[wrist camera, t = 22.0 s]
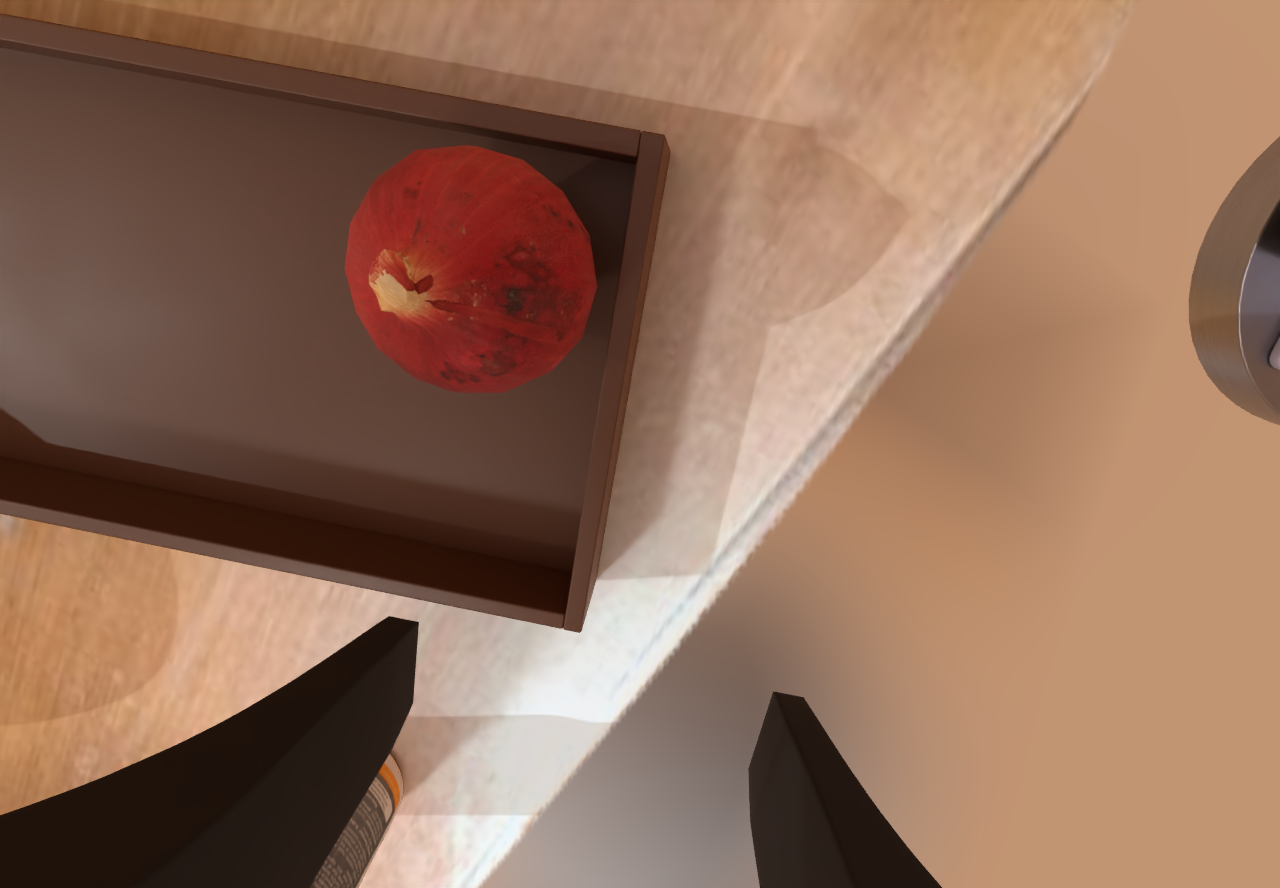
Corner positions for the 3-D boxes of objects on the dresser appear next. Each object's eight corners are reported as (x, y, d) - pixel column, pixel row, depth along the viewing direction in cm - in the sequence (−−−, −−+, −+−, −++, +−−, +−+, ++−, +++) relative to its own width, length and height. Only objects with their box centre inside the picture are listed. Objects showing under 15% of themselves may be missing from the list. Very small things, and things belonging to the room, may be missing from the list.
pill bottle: (284, 707, 26) (59, 970, 17) (413, 736, 26) (258, 1018, 17) (285, 801, 28) (83, 1083, 19) (405, 829, 28) (261, 1126, 19)
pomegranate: (637, 198, 18) (591, 178, 10) (585, 383, 20) (515, 481, 12) (444, 135, 18) (254, 69, 10) (412, 327, 20) (233, 391, 12)
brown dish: (671, 149, 18) (665, 134, 15) (596, 581, 23) (581, 633, 20) (-290, -27, 18) (-475, -74, 16) (-154, 429, 24) (-274, 458, 21)
